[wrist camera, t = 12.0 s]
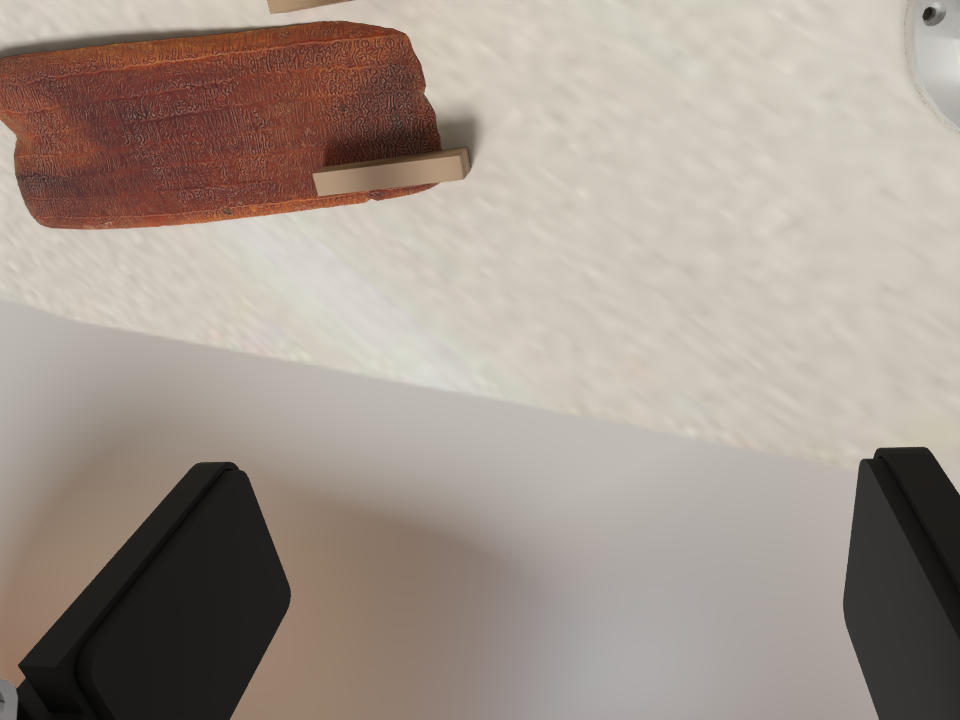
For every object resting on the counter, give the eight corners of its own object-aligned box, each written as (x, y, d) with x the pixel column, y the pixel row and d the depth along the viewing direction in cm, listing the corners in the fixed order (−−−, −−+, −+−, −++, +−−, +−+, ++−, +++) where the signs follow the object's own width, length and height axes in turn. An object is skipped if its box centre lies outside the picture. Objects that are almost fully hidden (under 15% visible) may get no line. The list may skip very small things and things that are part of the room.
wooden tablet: (48, 229, 44) (29, 237, 43) (-22, 59, 39) (-46, 62, 38) (454, 207, 39) (447, 216, 37) (429, 6, 34) (420, 8, 32)
